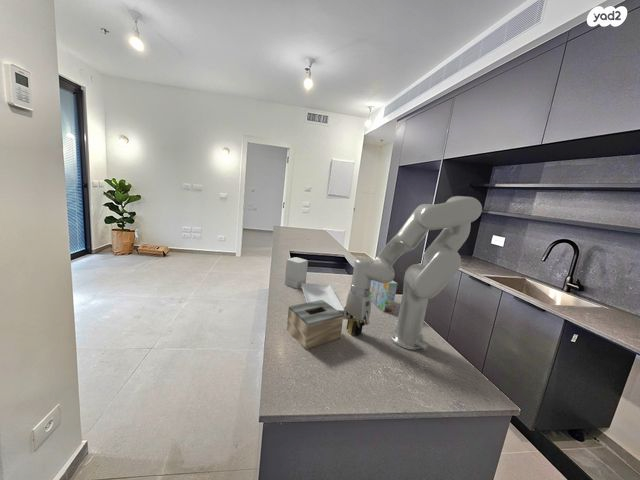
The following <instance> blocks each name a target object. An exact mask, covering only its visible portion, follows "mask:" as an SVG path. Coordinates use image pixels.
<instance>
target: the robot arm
mask: <svg viewBox="0 0 640 480" xmlns="http://www.w3.org/2000/svg"><path fill="white" fill-rule="evenodd" d="M482 211H483V206H482V204H481V202H480V200H478V198H475V197H473V196H463V195H462V196H461V195H456V196H450V198H447V200H446V201H445V202H442V203H437V204H432V203H422V204H420V205H418V206H417V207H416V208H415V209H414V210H413V212H412V213H411V215H410V216H409V217H408V218H407V220H406V221H405V222H404V224H403V225H402V226H401V228H400V229H399V230H398V232H397V233H396V234H395V235H394V236H393V237H392V238H391V240H389V241H388V242H387V243H386V244H385V245H384V246H383V247H382V249H381V250H380V252H379V253H378V255H377V256H376V257H375V259H374V260H371V259H369V258H364V257H359V258H356V259H355V260H354V262H353V263H354V264H353V270H352V271H353V272H352V278H351V283H350V289H349V292H348V295H347V297H346V298H347V299H346V303H345V306H343V308H344V310H345V311H344V312H345V315H346V320H347V324H346V325H347V326H346V330H347V331H348V324H349V319H351V318H356V319H357V326H356V328H355V334H354V336H356V337H357V336H359V335H361V334H362V332H363V327H364V326H367V325H368V326H369V325H370V323H371V322H370V318H371V309H372V302H371V296H370V295H371V292H370V287H371V281H372V280H373V281H376V282H380V283H389V282H391V281H392V280H393V281H394V279H395V274H396V273H395V269H394V267H393V265H395V263H396V262H397V260H398V259H399V258H400V257H401V256H402V255H404V254H405V253H407V252H410V251H413V250H415V249H416V248H417V247H418V246H419V244H420V243H421V242H422V240H423V239H424V238H425V237H426V235H427V234H428V233H429V231H436V230H441V232H440V233H439V234H438V235H437V237H435V239H434V240H433V241H432V243H431V244H430V245H429V246H428V247H427V248H426V250H425V251H424V255H423V257H424V260H425V262H426V263H427V264H426V265H424V264H420V263H414V264H412V265H410V266H408V268H407V269H406V270H405V273H404V277H403V287H402V288H403V290H402V295H401V299H400V306H399V311H398V317H397V323H396V328H395V329H394V330H393V331H391V333H390V338H391V341H392V342H393V343H395V344H396V345H397V346H399V347H401V348H404V349H405V350H406V349H407V350H413V351H414V350H415V351H417V350H420V349H423V350H424V351H426V350H428V348H429V344H430V343H429V342H428V341H426V340H424V334H422V330H423V328H424V327H423V326H424V322H425V318H426V317H425V316H426V313H427V307H428V303H429V299H433V298H435V297H436V296H437V295H438V294H440V292H441V291H442V290H443V289H444V288H445V287H446V286H447V285H448V284H449V283H450V281H451V280H452V279H453V278H454V277H455V276H456V274H457V273H458V272H459V270H460V268H461V266H462V258H461V255H460V253H459V250H460V248H461V247H462V246H463V244H464V243H465V242H466V241H467V239H468V238H469V236H470V232H471V226H472V225H471V223H473V222H474V221H476V220H477V219H479V217H480V216H481V214H482ZM360 321H361V323H360Z"/></svg>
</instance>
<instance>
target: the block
mask: <svg viewBox="0 0 640 480" xmlns="http://www.w3.org/2000/svg"><path fill="white" fill-rule="evenodd" d="M360 323H361V321H360ZM356 326H357V319H356V318H355V317H354V318H351V319H349V324H348V330H347V334H349V335H350V336H352V335H355V328H356Z"/></svg>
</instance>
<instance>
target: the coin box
mask: <svg viewBox="0 0 640 480" xmlns="http://www.w3.org/2000/svg"><path fill="white" fill-rule="evenodd" d="M343 321H344V314H343V312H339V311H338V310H336V309H335V308H333V307H332V306H330V305H329V304H328V303H326V302H325V301H323V300H319V301H313V302H308V303H307V302H304V303H299V304H293V305H289V306H288V312H287V321H286V322H287V324H286V331H288V333H289V334H290V335H291V336H292V337H293V338H294V339H295V340H296V341H297V342H298V343H299V345H301V346H302V347H303V348H304V350H308V349H310V347H311V348H314V347H317V345H318V346H321V345H323V344H327V343H329V342H333V341H336V340H340V339H341V335H342V328H343ZM320 344H321V345H320ZM313 346H314V347H313ZM307 348H308V349H307Z"/></svg>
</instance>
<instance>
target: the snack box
mask: <svg viewBox="0 0 640 480" xmlns="http://www.w3.org/2000/svg"><path fill="white" fill-rule="evenodd" d="M398 285H399V283H398V282H396V281H394V279H393V280H392V281H391V282H389V283H380V282H376V281H373V280H372V281H371V287H370V292H371V295H370V296H371V303H372V304H374V306H376V307H378V308H379V309H380V310H381V311H383V312H385V313H386V312H393V309H394V304H395V299H396V295H397V294H396V293H397V288H398Z"/></svg>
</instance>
